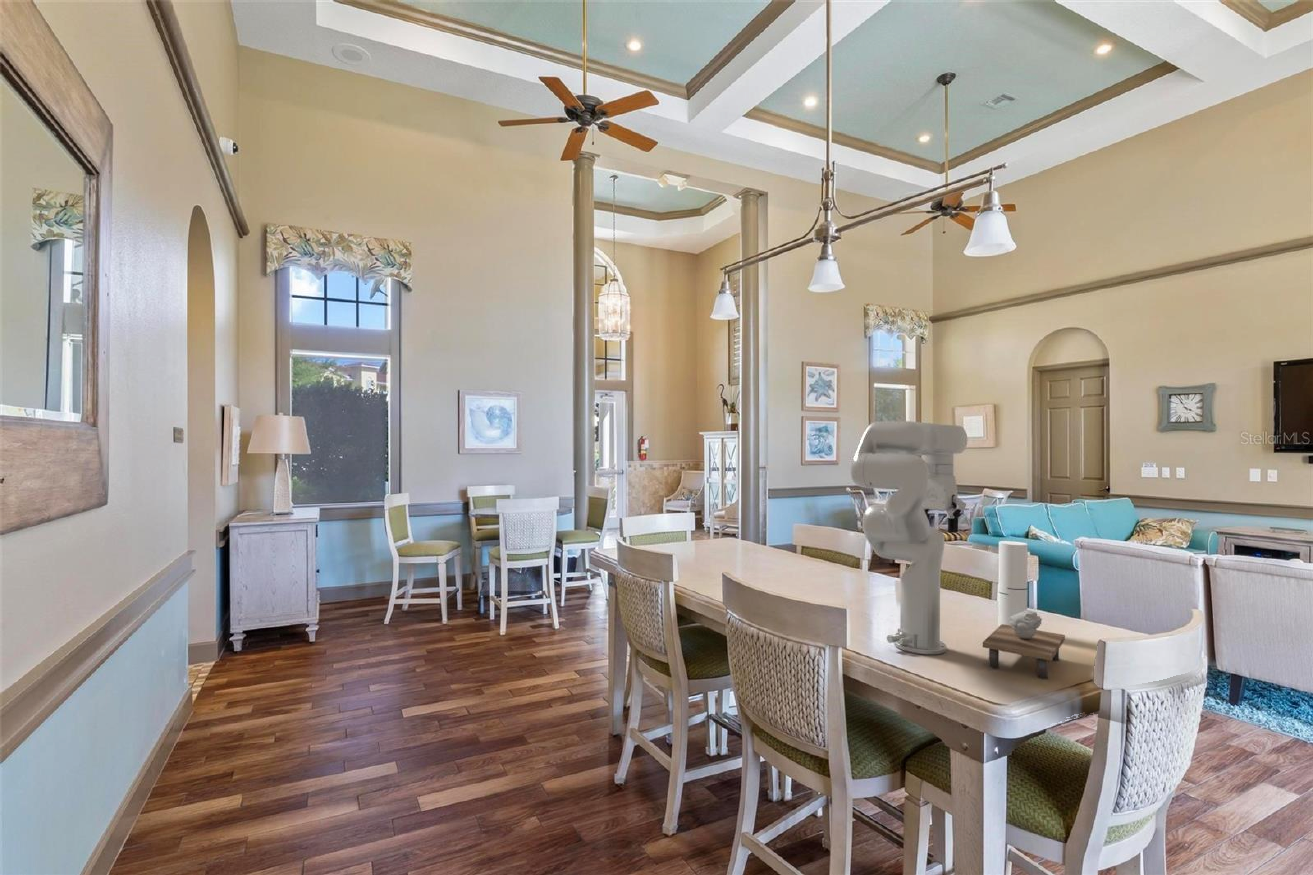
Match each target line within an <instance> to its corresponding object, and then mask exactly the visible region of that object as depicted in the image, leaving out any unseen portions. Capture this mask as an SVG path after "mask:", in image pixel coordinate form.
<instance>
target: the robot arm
mask: <svg viewBox="0 0 1313 875" xmlns="http://www.w3.org/2000/svg"><path fill="white" fill-rule="evenodd" d="M967 445H968V435H967V431H966V430H965V428H964V427H963V426H962V425H957V424H941V423H930V422H919V421H913V420H911V421H909V420H908V421H907V420H905V421H899V420H898V421H895V420H893V421H891V420H890V421H887V420H886V421H873V422H872V423H870V424H869V425H868V426H867V427H866V429H865V430H864V432H863V433H862V436H861V438H860V441H859V443H858V444H857V448H856V450H855V453H854V456H853V459H852V461H851V465H850V476H851V479H852V482H853V483H854V484H855V485H856V486H858V487H861V488H863V489H864V488H866V489H882V490H896V491H895V492H894V493H892V495H890V497H888V498H887V500H886V502H885V503H884V504H882V503H881V504H880V503H879V504H878V503H877V504H871V505H869V506H868V507H867V508H866V509H865V511H864V513H863V515H862V530H863V534H864V537H865V539H866V541H867V542H868V544H869V546H870V547H871V548H872V550H873V551H874V553H875V554H876V555H877V556H878V557H880V558H882V559H886V560H887V559H888V560H896V561H904V562H908V563H909V562H910V563H911V564H910V565H909V566H908V567H907V569H905V570H904V572H902V574H901V578H900V619H899V620H900V628H897V632H896V633H895V634H887V636H886V641H887V642H888V643H890V644H891V643H893V645H894V646H895V647H897V648H898V649H900V650H902V651H905V652H908V653H913V654H920V655H940V654H943V653H946V652H947V645H946V643H944V642H943V641H941V573H942V572H941V570H942V562H943V561H942V560H943V556H944V549H945V538H944V534H943V533H942V532H941V531H940V530H939V529H937V528H936V527H932V526H931V521H930V520H931V515H930V513H929V512H930V511H931V510H932V511H933V510H934V511H940V512H944V511H945V512H946V513H947V514H948V516H949V517H948V518H947V531H948V533H953V534H954V533H958V532H959V519H960V518H961V516H962V515H963V514H964V512H965V509H966V507H967V503H966V502H964V501H963V500H961V499H960V498H959V497H958V486H957V479H956V475H954V456H955V454H956V455H958V454H962V453H963V452H964V451H965V450H966V448H967ZM920 456H924V459H923V457H920Z"/></svg>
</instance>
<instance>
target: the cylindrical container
mask: <svg viewBox="0 0 1313 875" xmlns="http://www.w3.org/2000/svg"><path fill="white" fill-rule="evenodd" d="M1028 546H1029V545H1028V543H1027V542H1023V541H1013V540H1012V541H1011V540H1000V541H998V595H997V596H998V608H997V610H998V611H997V613H998V614H997V615H998V619H997V620H998V622H997V623H998V624H997V626H998V627H999V626H1000V625H1001V624H1004V625H1010V626H1011V623H1010V621H1012V620H1011V619H1010V617H1011V616H1013V615H1015V614H1018V613H1021V612H1023V611H1025V610H1028ZM998 627H997V628H998Z"/></svg>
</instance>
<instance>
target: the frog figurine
mask: <svg viewBox="0 0 1313 875" xmlns="http://www.w3.org/2000/svg"><path fill="white" fill-rule="evenodd" d="M1010 619H1011V620H1012V621H1010V623H1011V627H1012V628H1013V631H1014V633H1015V634H1016V635H1017V636H1018V637H1020V638H1023V639H1029V638H1032V637H1033V636H1034V635H1035V634H1036V630H1038V628H1039V627H1040V626H1041V625H1042V620H1043V618H1041V616H1040V615H1038V613H1037V611H1032V610H1030V609H1027V610H1025V611H1023V612H1021V613H1018V614H1015V615H1013V616H1011V617H1010Z"/></svg>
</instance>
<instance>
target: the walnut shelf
mask: <svg viewBox="0 0 1313 875" xmlns="http://www.w3.org/2000/svg"><path fill="white" fill-rule="evenodd" d="M1065 640H1066V635H1065V634H1061V633H1055V632H1049V631H1045V630H1038V629H1036V634H1035V635H1034V636H1033V637H1032V638H1029V639H1023V638H1020V637H1018V636H1017V635H1016V634H1015V633H1014V631H1013V628H1012V627H1011V626H1010V625H1004V624H1001V625H1000V626H999V627H997V628H996V629H995V630H994V631H993V632H992V633H990V635H988V636H987V637H986V638H985V639H984V640H983V641H982V648H984V649H985V648H986V649H989V650H988V667H989V668H990V669H995V670H997V669H999V668H1000V665H999V663H1000V662H999V660H1000V658H999V657H1000V656H999V652H1005V653H1011V654H1014V655H1015V654H1016V655H1018V656H1019V655H1021V656H1025V657H1031V658H1036V661H1037V664H1036V665H1037V669H1036V670H1037V671H1036V672H1037V674H1036V677H1037V678H1038V679H1040V678H1041V679H1042V680H1048V679H1047V678H1049V677H1048V674H1049V673H1048V670H1049V669H1048V666H1049V665H1048V664H1049V662H1048V661H1050V662H1051V661H1054V662H1058V661H1059V660H1060V648H1061V647H1062V645H1063V643H1064V642H1065Z"/></svg>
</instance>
